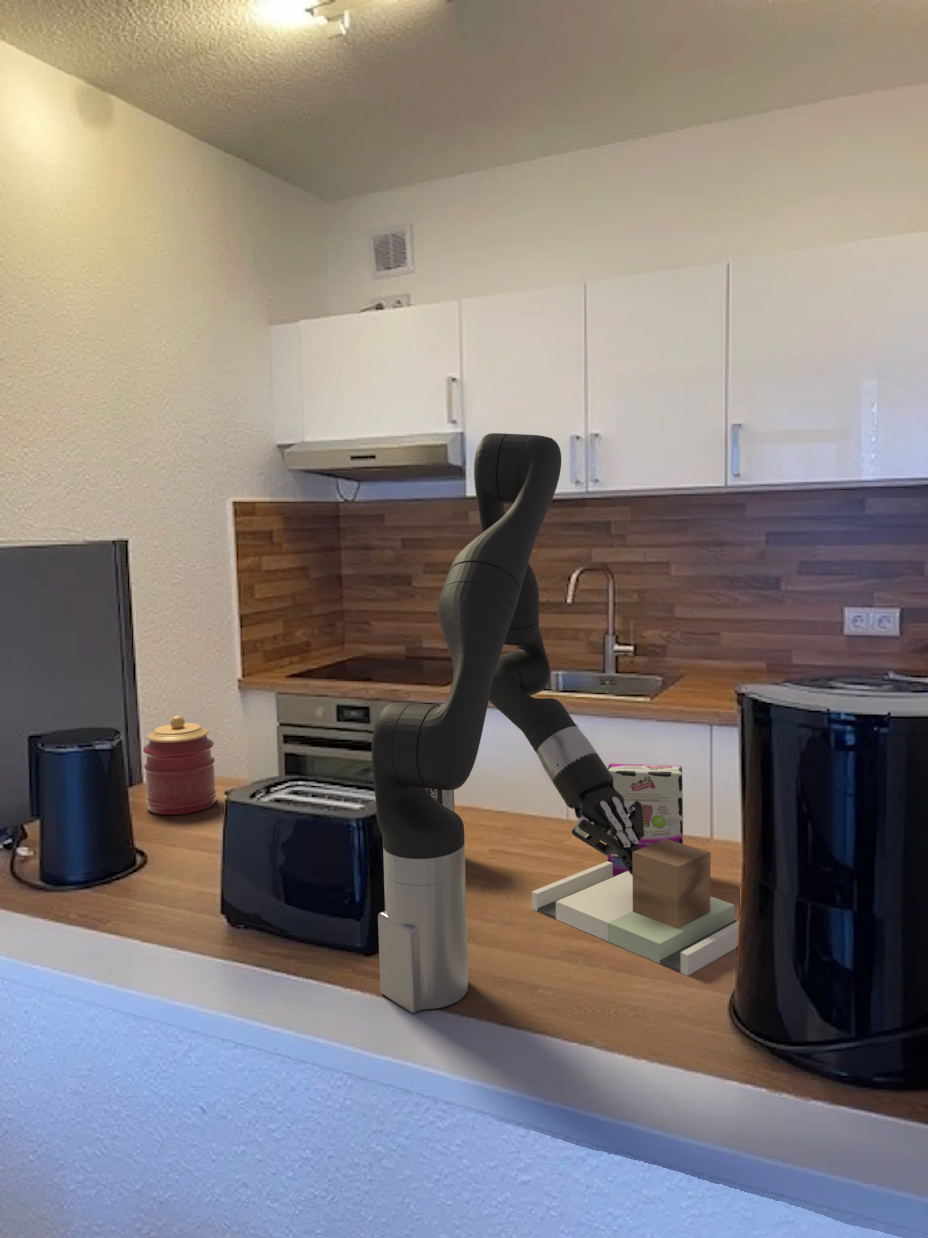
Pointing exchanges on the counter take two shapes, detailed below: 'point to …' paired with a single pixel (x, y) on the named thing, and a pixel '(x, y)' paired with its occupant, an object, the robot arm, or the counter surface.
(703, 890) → the walnut block
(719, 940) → the platform
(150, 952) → the counter surface
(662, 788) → the candy bar box
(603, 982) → the counter surface
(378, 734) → the robot arm
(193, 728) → the canister
